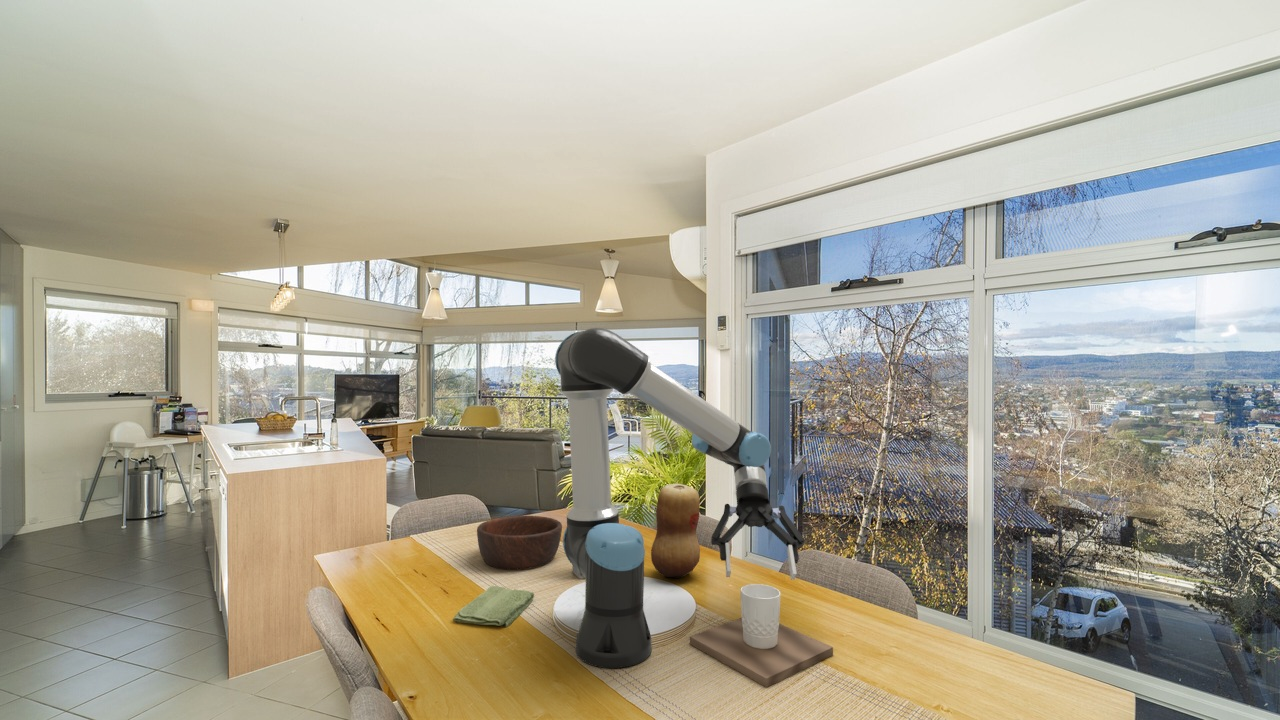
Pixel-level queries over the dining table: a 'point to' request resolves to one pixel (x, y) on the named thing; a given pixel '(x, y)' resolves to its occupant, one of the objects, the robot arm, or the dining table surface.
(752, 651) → the walnut board
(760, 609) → the white cup
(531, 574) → the dining table surface
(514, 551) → the wooden bowl
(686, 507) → the butternut squash
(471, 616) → the washcloth
